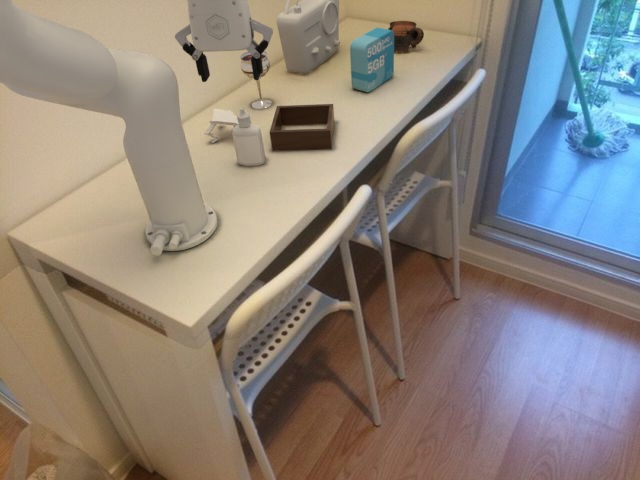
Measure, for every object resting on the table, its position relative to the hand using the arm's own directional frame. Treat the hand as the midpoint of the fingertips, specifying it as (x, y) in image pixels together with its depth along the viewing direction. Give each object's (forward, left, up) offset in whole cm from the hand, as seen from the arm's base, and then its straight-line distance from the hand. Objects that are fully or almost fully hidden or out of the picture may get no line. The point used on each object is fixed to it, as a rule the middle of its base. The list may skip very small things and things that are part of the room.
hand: (231, 78), depth 97 cm
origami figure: (+10, +6, -19) cm, 22 cm away
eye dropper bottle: (0, -1, -19) cm, 19 cm away
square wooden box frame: (+10, -11, -18) cm, 24 cm away
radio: (+50, -10, -19) cm, 55 cm away
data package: (+35, -26, -19) cm, 47 cm away
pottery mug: (+57, -35, -19) cm, 69 cm away
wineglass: (+26, +1, -19) cm, 32 cm away
